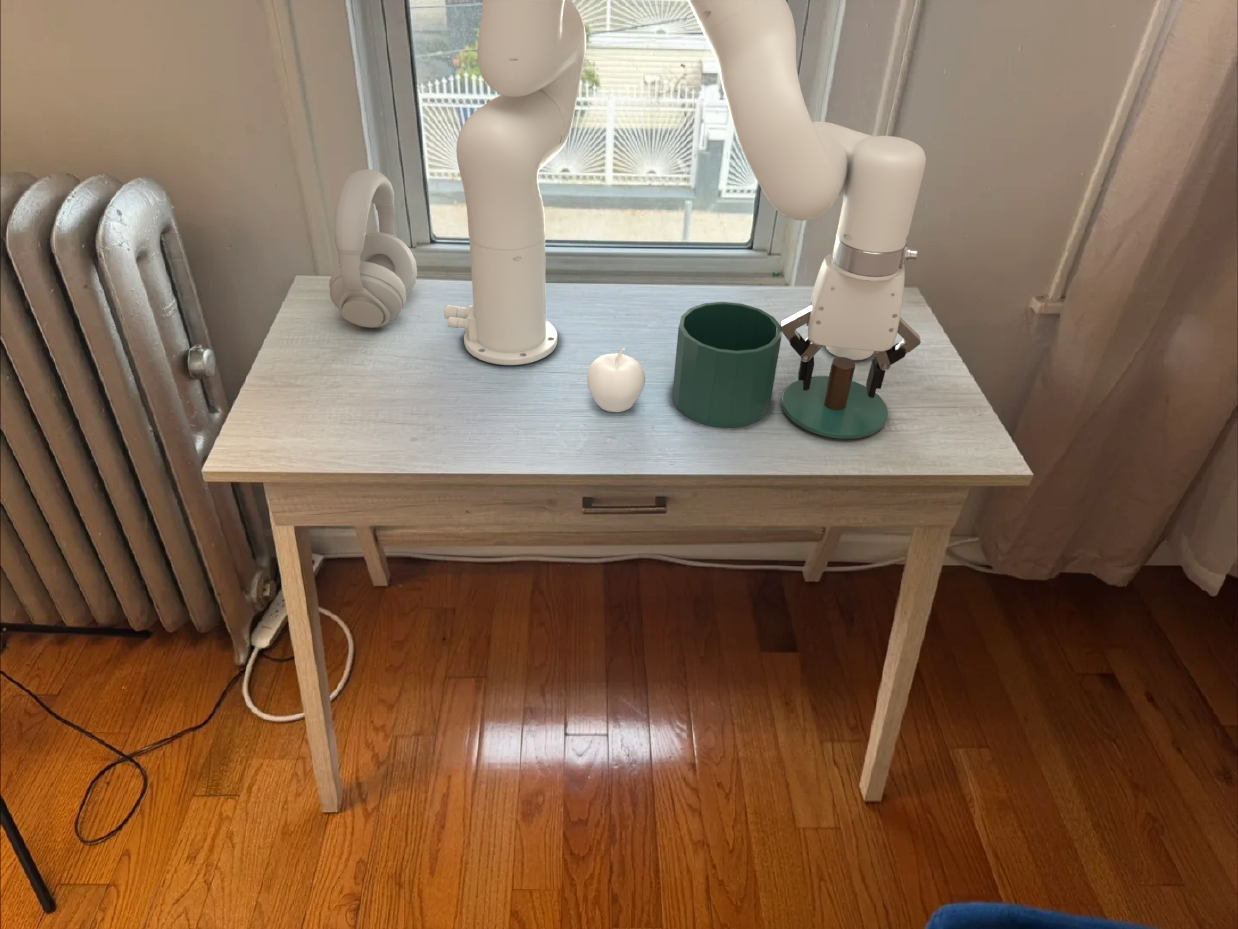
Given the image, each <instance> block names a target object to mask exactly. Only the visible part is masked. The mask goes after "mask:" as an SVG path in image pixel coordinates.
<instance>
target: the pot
mask: <svg viewBox="0 0 1238 929" xmlns="http://www.w3.org/2000/svg"><path fill="white" fill-rule="evenodd" d="M782 334H783V332H782V331H781V323H779V322H778V321H777V319H776V318H775V317H774V316H773V315H771V314H769V313H767V312H766V311H765V310H762V309H761V308H758V307H754V306H752V305H748V304H745V303H741V302H738V303H737V302H729V301H716V302H706V303H705V302H704V303H701V304H699V305H695V306H692V307H690V308H688V309H687V310H686V311H685V312H683V313H682V314H681V315H680V316H679V323H678V331H677V340H676V352H675V361H674V373H673V382H672V392H671V393H672V394H671V396H672V401H673V404H674V405H675V407H676V409H678V411H679V412H680V413H682V414H683V415H684V416H686V417H687V418H688V419H691V420H692V421H695V422H697V423H699V424H702V425H707V426H712V427H717V428H739V427H744V426H748V425H751V424H754V423H756V422H757V421H760V420H761V419H762V418H763V417H764V416H766V414H767V413H768V411H769V408H770V406H771V401H772V395H773V389H774V383H775V378H776V373H777V372H776V371H777V366H778V361H779V360H778V359H779V355H780V349H781V342H782V337H783V335H782Z"/></svg>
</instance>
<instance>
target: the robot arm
mask: <svg viewBox="0 0 1238 929" xmlns="http://www.w3.org/2000/svg"><path fill="white" fill-rule="evenodd" d="M687 2H688V4H689V6H690V9H691V10H692V12H693V15H694V17H695V19H696V21H697V23H698V25H699V28H700V29H701V31H702V34H703V36H704V38H705V39H706V42H707V44H708V46H709V48H710V50H711V52H712V55H713V57H714V59H715V61H716V64H717V67H718V68H717V69H718V72H719V78H720V84H721V87H722V91H723V94H724V97H725V100H726V104H727V107H728V111H729V115H730V119H731V123H732V125H733V129H734V132H735V135H736V137H737V141H738V144H739V145H740V148H741V150H742V152H743V155H744V157H745V159H746V161H747V164H748V165H749V168H750V169H751V172H752V173H753V175H754V176H755V179H756V181H757V183H758V185H759V187H760V189H761V191H762V192H763V194H764V196H765V197H766V199H767V200H768V202H769V204H771V206H772V207H773V208H774V209H775V210H776V211H777V212H778V213H780V214H781V215H782V216H784V217H786V218H788V219H790V220H791V219H792V220H794V221H802V222H803V221H811V220H814V219H818V218H819V217H821V216H823V215H824V214H825V213H827V212H828V211H829V210H830V209H831V208H832V207H833V205H834V204H835V203H836V201H837V199H838V198H839V196H840V197H841V198H842V204H841V209H840V214H839V220H838V225H837V230H836V234H835V239H834V245H833V251H832V253H829V254H827V255H826V256H825V257H824V259H823V260H822V263H821V265H820V268H819V271H818V273H817V276H816V279H815V283H814V287H813V290H812V294H811V298H810V301H809V302H810V303H809V306H808V307H806V308H804V309H802V310H800V311H798V312H796V313H794V314H792V315H790V316H789V317H787V318H784V319H783V320H781V322H780V326H781V331H782V334H783V336H784V337H785V339H786V340H787V341H788V342H789V345H790V346H791V348H792V349H793V350H794V351H795V352H796V353H797V355H798V356H799V357H800V363H799V367H798V375H797V380H803V390H805V391H807V390H809V388H810V383H811V378H812V377H813V373H814V367H815V355H816V354H817V353H818V352H819V351H820V350H821V349H822V348H823V347H826V346H828V347H837V348H847V349H856V350H866V351H874V353H873V354H874V355H875V356H874V357H873V358H872V359H871V363H870V367H869V371H868V375H867V379H866V384H865V386H866V387H867V394H868V396H869V398H874V396H875V393H876V392H877V390H881V389H882V387H883V382H884V380H885V379H884V378H885V375H886V371H889V370H890V369H891V366H892V365H894V364H895V363H898V362H899V361H901V360H902V359H904V358H905V357H906V355H907V354H908V353H911V352H912V351H913V350H915V349H916V348H917V347H918V346H920V345H921V342H922V341H921V337H920V335H919V333H918V332H916V330H915V329H914V328H912V327H911V326H910V324H908V322H907V321H905V320H904V319H903V318H902V317H901V314H902V309H903V308H902V307H903V303H904V302H903V301H904V294H905V293H904V292H905V279H906V271H905V270H906V268H905V262H909V261H914V262H915V261H916V260H917V257H918V248H915V247H912V246H908V243H907V242H908V238H909V233H910V229H911V225H912V222H913V217H914V212H915V208H916V205H917V200H918V198H919V193H920V190H921V185H922V181H923V177H924V174H925V169H926V165H927V157H926V152H925V150H924V148H922V146H920V145H919V144H918V143H916V142H914V141H911V140H910V139H908V138H903V137H898V136H893V135H871V134H867V133H864V132H861V131H857V130H854V129H851V128H848V127H846V126H843V125H839V124H836V123H832V122H828V121H821V120H819V121H818V120H817V121H813V120H812V118H811V115H810V113H809V111H808V107H807V105H806V102H805V99H804V95H803V92H802V89H801V88H802V87H801V84H800V80H799V74H798V73H799V72H798V67H797V65H798V64H797V34H796V33H797V32H796V24H795V21H794V16H793V13H792V10H791V8H790V6H789V4H788V1H787V0H687ZM586 51H587V34H586V27H585V23H584V19H583V17H582V15H581V12H580V11H579V9H578V8H577V6H576V4H575V3H574V1H572V0H482V7H481V16H480V24H479V31H478V40H477V53H476V54H477V62H478V68H479V72H480V75H481V77H482V78H483V80H484V81H485V83H486V85H487V86H488V87H489V88H490V89H492V90H493V92H496V93H497V94H499V95H498V96H495V97H494V98H492V99H491V100H490V101H488V102H486V103H485V104H484V105H482V106H480V107H479V108H477V110H475V111H474V112H473V113H472V114H471V115H470V116H469V117H468V118H467V119H466V121H465V122H464V124H463V125H462V127H461V128H460V131H459V132H458V133H459V134H458V136H457V141H456V149H455V150H456V160H457V166H458V171H459V174H460V178H461V183H462V186H463V192H464V198H465V206H466V215H467V216H466V217H467V230H468V239H469V255H470V256H469V257H470V271H471V273H470V274H471V287H472V302H473V305H467V307H466V306H465V307H463V306H459V305H452V304H445V306H444V309H443V316H444V317H443V318H444V320H447V327H448V328H453V329H454V328H455V329H456V328H457V329H458V328H460V329H464V334H463V344H464V347H465V349H466V351H467V352H468V353H469V354H470V355H471V356H472V357H474V358H476V359H477V360H480V361H482V362H486V363H490V364H493V365H500V366H519V365H527V364H531V363H534V362H539V361H540V360H542V359H544V358H546V357H547V356H549V355H550V354H552V353H553V351H554V350H555V349H556V348H557V345H558V331H557V329H556V327H555V326H554V324H552V323H551V322H549V321H548V320H547V303H546V302H547V301H546V300H547V297H546V296H547V295H546V294H547V293H546V290H547V289H546V288H547V287H546V286H547V284H546V282H547V281H546V276H547V275H546V222H545V221H546V219H545V218H546V217H545V207H544V202H543V199H542V194H541V191H540V187H539V172H540V170H541V169H543V168H544V166H546V165H547V163H549V162H550V161H552V160H553V159H554V158H555V157H556V156H557V155H558V154H559V153H560V152H561V151H562V149H563V148H564V147H565V145H566V143H567V142H568V139H569V136H570V134H571V129H572V126H573V121H574V116H575V111H576V105H577V101H578V95H579V90H580V85H581V80H582V75H583V68H584V64H585V63H584V62H585V57H586ZM804 325H806V327H807V337H806V338H805V339H804V338H803V336H802V335H801V334H800V333H799V332H798V331H797V329H798V328H801V327H803V326H804ZM897 335H899V336H900V337H901V338H902V339H901V341H900V342H897V343H896V338H897Z"/></svg>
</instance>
